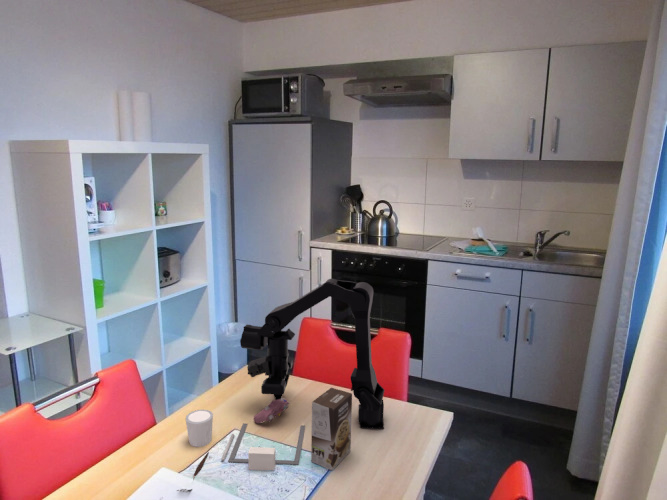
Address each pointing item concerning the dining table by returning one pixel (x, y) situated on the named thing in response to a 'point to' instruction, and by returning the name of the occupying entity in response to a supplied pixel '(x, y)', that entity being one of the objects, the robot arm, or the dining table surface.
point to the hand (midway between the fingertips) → (277, 401)
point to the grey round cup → (199, 427)
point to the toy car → (271, 410)
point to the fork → (199, 467)
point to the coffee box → (331, 428)
